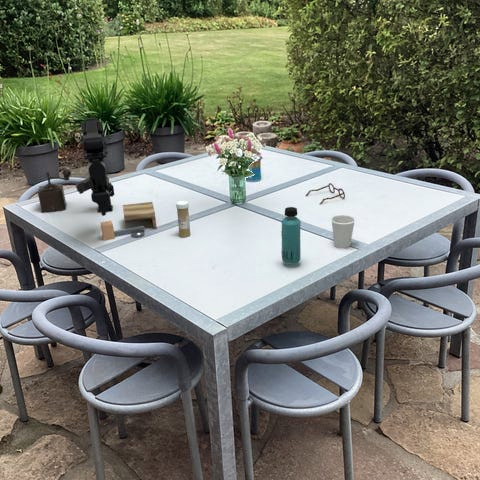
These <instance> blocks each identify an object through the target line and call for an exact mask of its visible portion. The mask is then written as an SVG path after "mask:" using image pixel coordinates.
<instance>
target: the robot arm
mask: <svg viewBox="0 0 480 480" xmlns="http://www.w3.org/2000/svg"><path fill="white" fill-rule="evenodd" d="M80 127H81V133H82V134H81V135H82V137H83V141H81V143H82V144H81V145H82V152H83V157H84V158H83V160H87V163H88V175H89V177H87V178H85V179H83V180H81V181H79V182H77V183H76V184H75V188H76V192H78V193H79V195H82V194H84V193H85V192H87V191H89V190H91V195H90V197H91V201H92V203H95V204H97V213H100V214H101V216H106V215H107V212H112V211H114V209H113V207H114V206H113V204H112V200H111V199H112V197H114V196H115V189H114V185H113V184H112V182H110V178H109V176H108V175H107V170H106V169H107V168H106V163H105V158H107V155H108V148H107V146H108V145H107V142H106V140H105V139H104V137H103V135H105V132H104V131H105V130H104V125H103V122H102V121H100V120H99V119H98V118H96V117H89V118H84V119H83V122H82V123H80Z"/></svg>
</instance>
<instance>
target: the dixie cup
mask: <svg viewBox="0 0 480 480" xmlns="http://www.w3.org/2000/svg"><path fill="white" fill-rule="evenodd" d="M330 221H331V227H332V229H331V230H332V235H333V236H332V238H333V245H334V247H335V248H338V249H347V248H350V247H351V242H352V237H353V232H354V226H355V221H356V219H355V217H353V216H351V215H348V214H338V215H333V216H332V217H331V218H330Z"/></svg>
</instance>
